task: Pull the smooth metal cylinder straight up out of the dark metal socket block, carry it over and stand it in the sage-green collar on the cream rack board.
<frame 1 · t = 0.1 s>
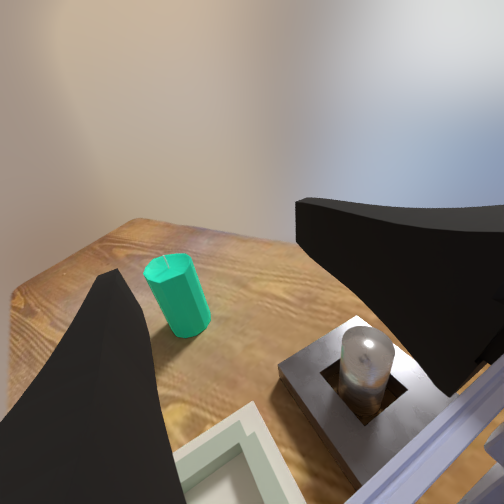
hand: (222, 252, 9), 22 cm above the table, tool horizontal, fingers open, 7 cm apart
smooth metal cylinder: (362, 372, 22), in the socket block
socket block: (358, 394, 24), on the table
candle: (191, 322, 36), on the table
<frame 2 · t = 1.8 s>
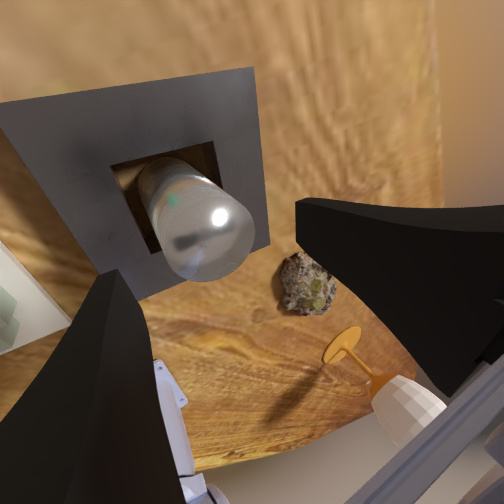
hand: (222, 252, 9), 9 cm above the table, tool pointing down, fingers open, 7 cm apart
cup: (341, 344, 44), on the table
mineral rock: (302, 277, 29), on the table
smooth metal cylinder: (187, 209, 13), in the socket block
socket block: (170, 188, 16), on the table
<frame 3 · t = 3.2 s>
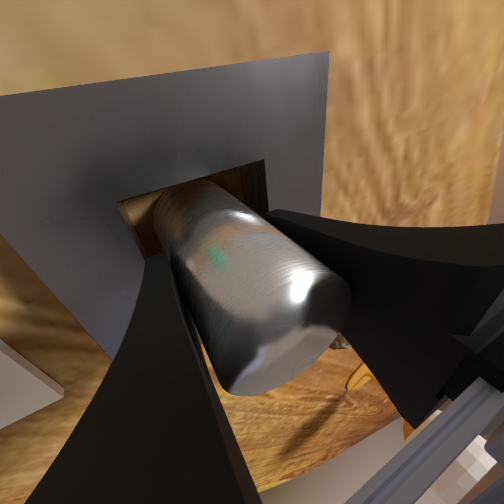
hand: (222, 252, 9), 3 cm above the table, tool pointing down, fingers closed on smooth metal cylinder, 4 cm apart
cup: (365, 368, 40), on the table
smooth metal cylinder: (228, 259, 9), in the socket block, touching gripper
socket block: (196, 219, 12), on the table
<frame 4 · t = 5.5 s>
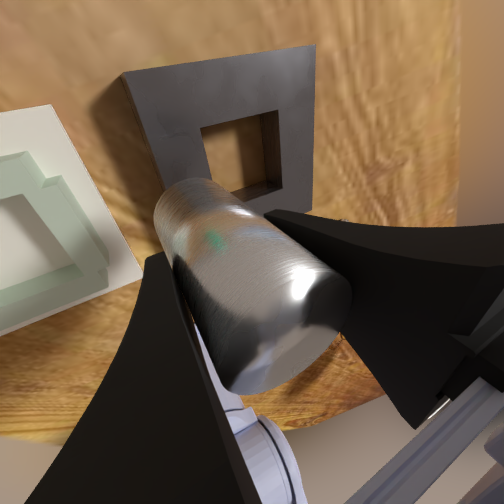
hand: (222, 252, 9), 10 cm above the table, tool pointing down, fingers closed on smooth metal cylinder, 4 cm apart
smooth metal cylinder: (228, 258, 9), point 11 cm above the table, touching gripper
rack: (10, 237, 14), on the table
socket block: (232, 155, 18), on the table
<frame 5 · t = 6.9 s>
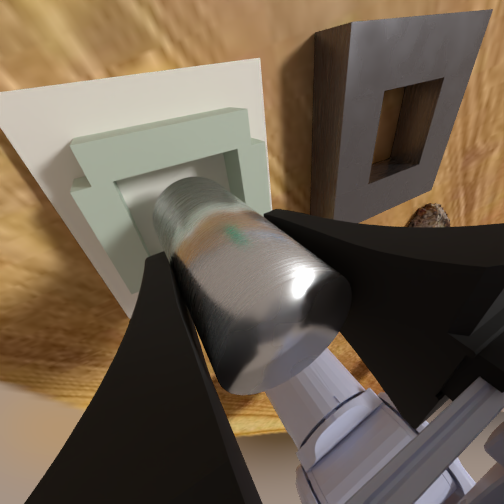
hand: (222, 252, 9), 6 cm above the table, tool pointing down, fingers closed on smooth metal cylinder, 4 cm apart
mineral rock: (417, 233, 31), on the table
smooth metal cylinder: (227, 258, 9), point 6 cm above the table, touching gripper
rack: (183, 203, 14), on the table
socket block: (373, 129, 18), on the table
when the fingers open (5 cm above the table, at t = 7.9 s): smooth metal cylinder stays where it is, resting on rack.
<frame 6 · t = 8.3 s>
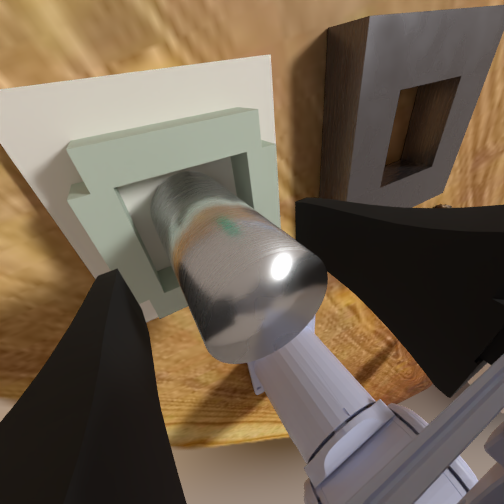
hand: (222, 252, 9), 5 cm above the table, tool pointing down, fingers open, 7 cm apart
smooth metal cylinder: (219, 245, 10), in the rack
rack: (187, 208, 13), on the table
socket block: (384, 130, 17), on the table
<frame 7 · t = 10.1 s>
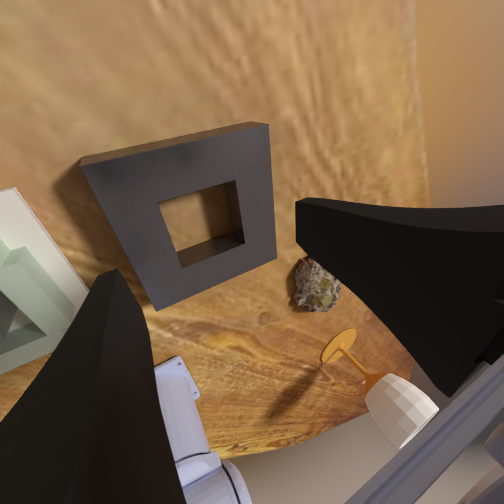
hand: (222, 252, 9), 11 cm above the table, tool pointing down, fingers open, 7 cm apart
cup: (337, 344, 47), on the table
mineral rock: (311, 277, 33), on the table
socket block: (197, 213, 20), on the table
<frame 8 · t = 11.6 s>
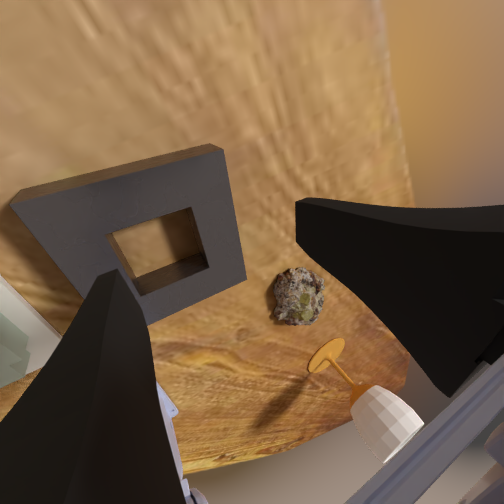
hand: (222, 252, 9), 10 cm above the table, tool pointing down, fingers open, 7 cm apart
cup: (325, 354, 47), on the table
mineral rock: (293, 290, 32), on the table
socket block: (158, 238, 19), on the table
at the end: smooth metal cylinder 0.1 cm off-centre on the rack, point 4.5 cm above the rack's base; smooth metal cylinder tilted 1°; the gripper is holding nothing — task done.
